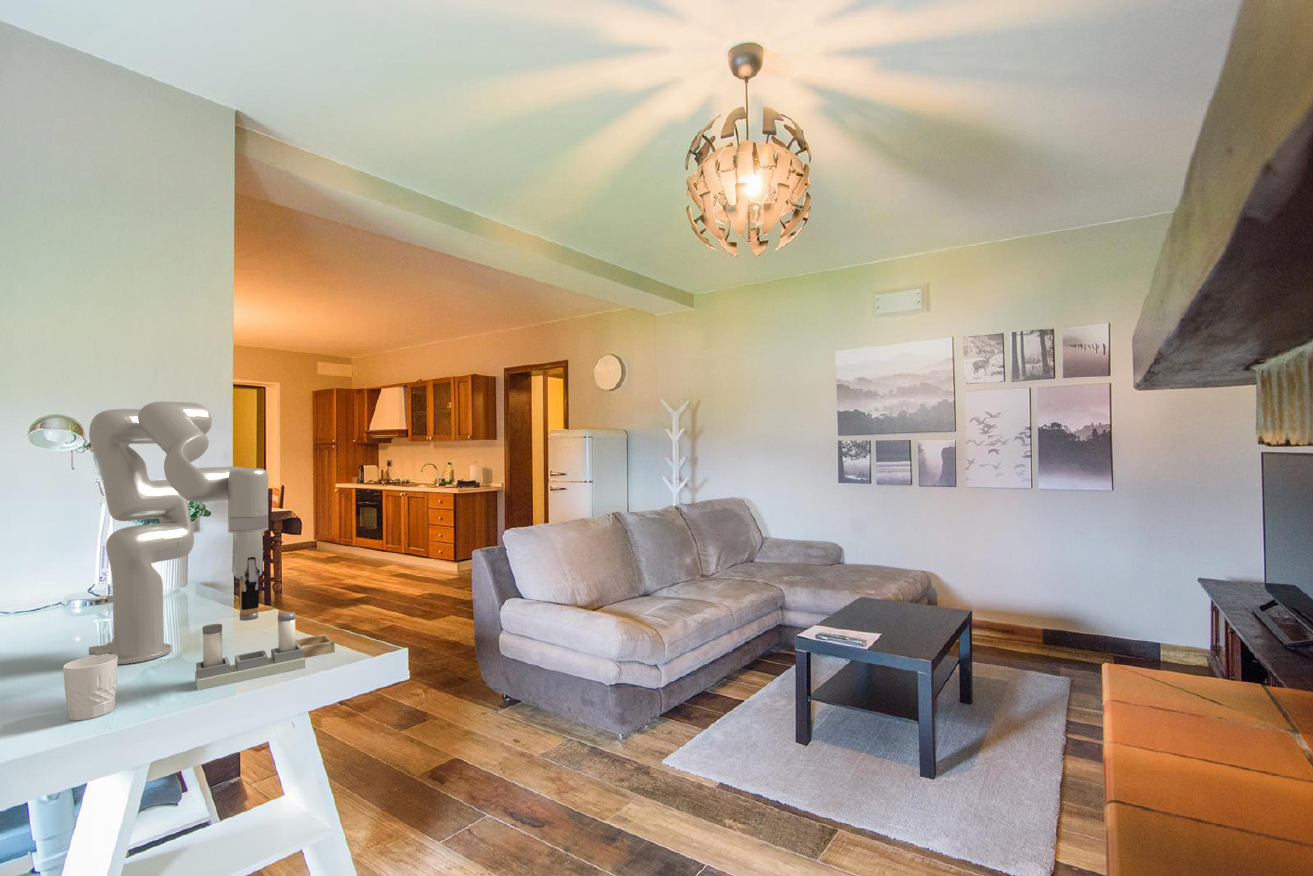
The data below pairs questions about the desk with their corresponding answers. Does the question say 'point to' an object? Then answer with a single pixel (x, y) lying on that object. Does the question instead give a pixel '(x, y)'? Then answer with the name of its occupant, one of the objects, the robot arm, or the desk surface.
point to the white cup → (90, 686)
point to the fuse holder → (249, 667)
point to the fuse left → (212, 645)
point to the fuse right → (286, 632)
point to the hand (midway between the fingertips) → (248, 606)
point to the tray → (316, 645)
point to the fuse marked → (248, 613)
